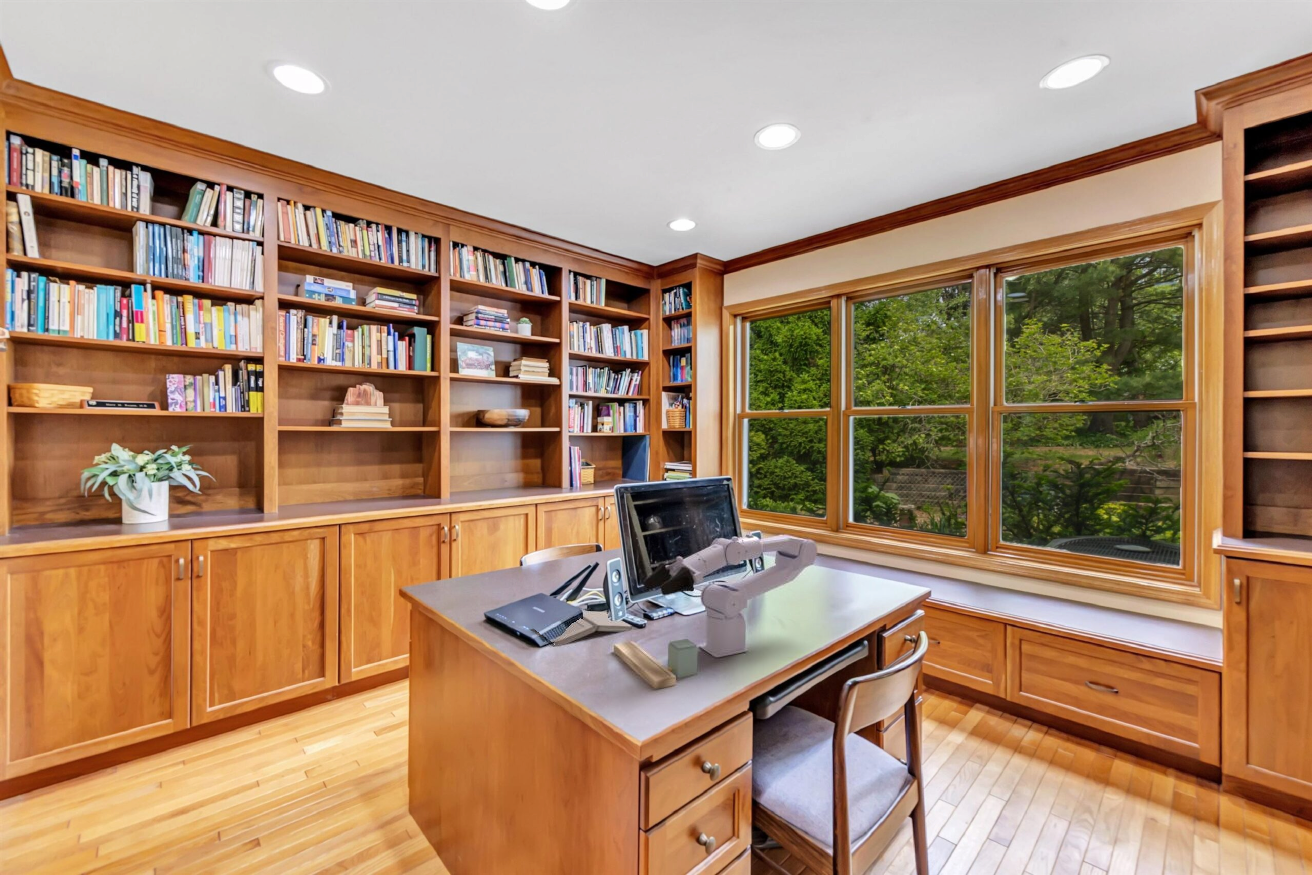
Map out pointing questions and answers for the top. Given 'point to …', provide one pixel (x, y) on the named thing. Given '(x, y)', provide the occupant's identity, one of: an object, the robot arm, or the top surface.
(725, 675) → the top surface
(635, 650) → the plank
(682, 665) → the green box with tab
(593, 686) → the top surface
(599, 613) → the gadget
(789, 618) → the top surface
